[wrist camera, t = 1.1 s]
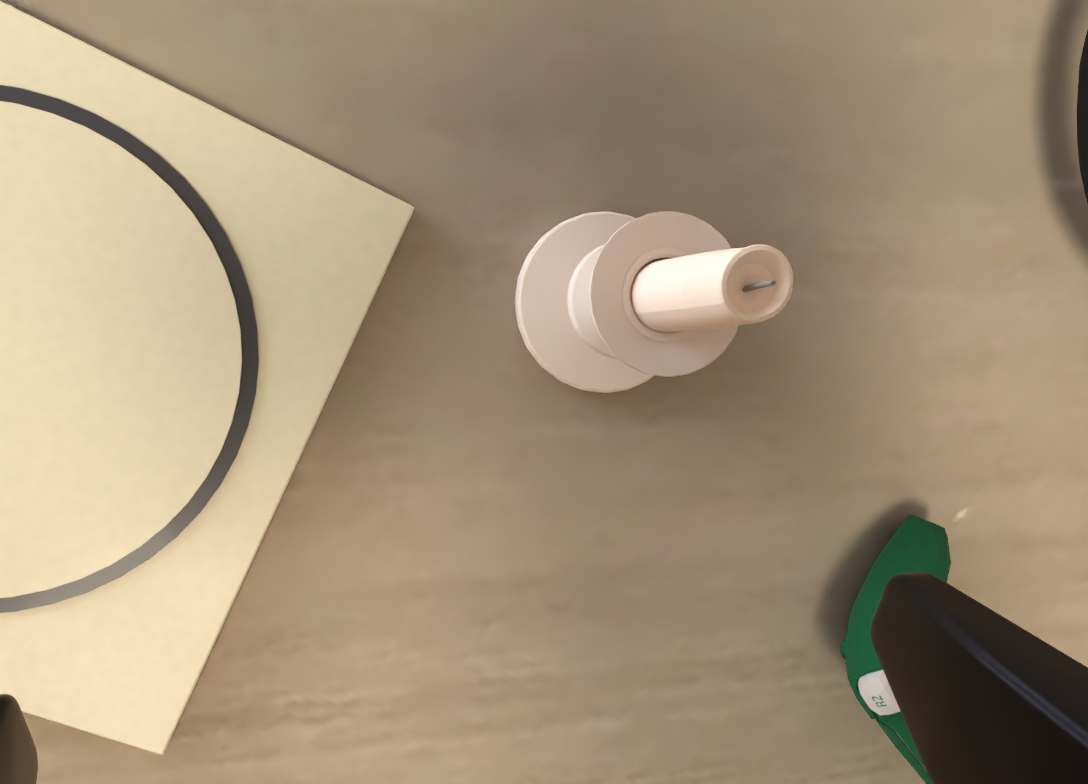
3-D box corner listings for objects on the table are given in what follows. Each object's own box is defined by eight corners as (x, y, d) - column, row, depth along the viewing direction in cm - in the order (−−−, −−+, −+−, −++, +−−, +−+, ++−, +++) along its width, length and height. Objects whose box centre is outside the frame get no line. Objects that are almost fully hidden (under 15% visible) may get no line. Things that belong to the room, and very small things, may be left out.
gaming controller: (827, 537, 30) (802, 670, 26) (932, 498, 28) (927, 637, 23) (971, 720, 32) (972, 876, 27) (1081, 698, 30) (1103, 864, 25)
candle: (658, 411, 27) (860, 455, 17) (493, 365, 25) (602, 383, 15) (703, 243, 27) (932, 186, 17) (541, 190, 25) (681, 92, 15)
